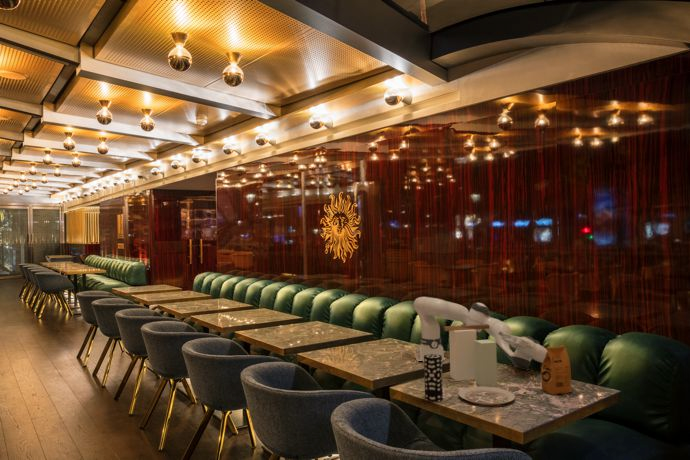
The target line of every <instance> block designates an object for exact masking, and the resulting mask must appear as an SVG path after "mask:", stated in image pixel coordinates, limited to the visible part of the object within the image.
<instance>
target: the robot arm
mask: <svg viewBox="0 0 690 460" xmlns="http://www.w3.org/2000/svg"><path fill="white" fill-rule="evenodd" d="M413 309H414V311H416V314H417V315H418V318H419V320H420V321H419V322H420V326H421V340H420V344H419V345H418V347H417V349H415V353H416V354H414V355H413V357H414V356H415V357H414V359H415V358H416V359H415V360H417V361H423V362H422V363H424V355H428V354H437V355H441V356H442V361H443V360H444V361H446V360H447V358H446V357H445V355H444V354H445V353H444V347H443V345H442V339H441V327H440V323H439V322H438V321H437V319H436V318H440V319H443V320H444V319H445V320H450V321H452V322H453V321H454V322H461V323H462V324H461V325H460V326H463V325H481V324H488V325H489V327H490V329H484V330H485V331H486V333H488V335H490V336H491V337H493V338H494V340H495V342H496V347H497V348H498V349H499V350H500V351H501V353H503V354H504V355H505V356H506V357H507V358H508V359H509V360H510V362H512V364H513V365H514V366H515V367H517V368H518V369H521V370H524V369H528V368H529V366H530V364H531V361H532V360H533V361H535V362H537V363H543V360H544V358H545V356H546V353H547V349H546V347H544V346H543V345H541V344H540V341H538V340H537V339H534V338H533V337H531V336H529V335H526V336H517V335H512V329H511V328H510V325H508V324H507V323H505V322H504V321H502V320H500V319H498V318H494V317H491V316H490V315H491V312H490V310H489V308H488V306H486V305H485V304H484V303H482V302H474V303H472V305H471V307H470V309H468V308H467V307H465V306H463V305H461V304H460V303H459V304H458V303H455V302H452V301H447V300H444V299H442V298H437V297H430V296H419V297H417V298H416V299H414V302H413ZM474 330H476V338H478V337H479V336H480V335H481V331H482V330H483V329H474ZM510 346H511V347H512V348H513V349H515V351H514V352H513V351H512V349H511V347H510ZM445 359H446V360H445ZM417 361H416V362H417ZM444 361H443V362H444Z"/></svg>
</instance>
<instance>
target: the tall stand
mask: <svg viewBox="0 0 690 460" xmlns="http://www.w3.org/2000/svg"><path fill="white" fill-rule="evenodd" d="M448 333H449V335H448V336H449V338H448V339H449V374H450V378H451V379H453V381H456V382H460V381H461V382H462V381H473V380H475V381H476V379H475V343H474V340H477V339H478V338H477V337H476V330H457V331H448Z"/></svg>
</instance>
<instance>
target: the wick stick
mask: <svg viewBox="0 0 690 460" xmlns="http://www.w3.org/2000/svg"><path fill="white" fill-rule="evenodd" d="M474 329H482V330H485V329H490V327H489V325H488V324H481V325H464V324H463V326H461V325H449V326H448V325H447V326H443V330H444V331H445V332H449V331H457V330H474Z"/></svg>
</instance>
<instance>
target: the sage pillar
mask: <svg viewBox="0 0 690 460" xmlns="http://www.w3.org/2000/svg"><path fill="white" fill-rule="evenodd" d="M474 343H475V379H476V380H475V384H476V385H478V386H479V387H480V386H481V387H498V364H497V363H498V362H497V361H498V359H497V345H496V341H493V340H491V339H478V340H474Z"/></svg>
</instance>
